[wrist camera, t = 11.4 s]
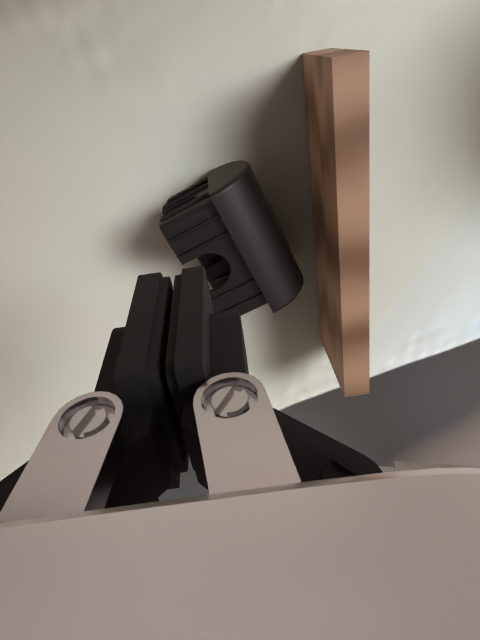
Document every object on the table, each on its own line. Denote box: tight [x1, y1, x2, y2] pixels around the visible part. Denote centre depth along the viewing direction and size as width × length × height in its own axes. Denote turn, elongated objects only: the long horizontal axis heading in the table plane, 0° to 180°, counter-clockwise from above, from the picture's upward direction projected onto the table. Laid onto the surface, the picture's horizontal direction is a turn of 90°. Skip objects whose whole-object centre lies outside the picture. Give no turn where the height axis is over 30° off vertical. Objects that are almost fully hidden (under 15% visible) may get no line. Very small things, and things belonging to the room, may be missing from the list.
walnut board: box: [302, 48, 369, 397], centre depth 34 cm, size 24×2×8 cm, turn 9°
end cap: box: [160, 161, 304, 316], centre depth 34 cm, size 10×7×7 cm
